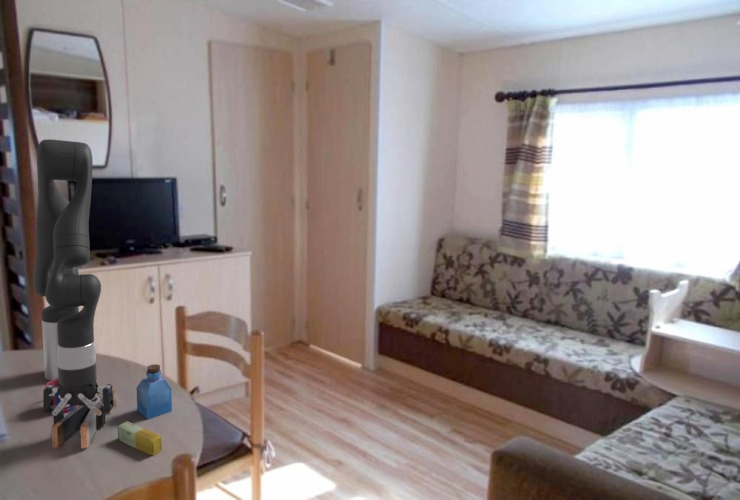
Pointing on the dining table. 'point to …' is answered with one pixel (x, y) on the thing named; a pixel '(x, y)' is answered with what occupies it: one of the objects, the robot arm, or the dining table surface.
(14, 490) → the dining table surface
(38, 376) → the dining table surface
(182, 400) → the dining table surface
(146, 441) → the medication box
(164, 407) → the perfume bottle
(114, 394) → the block
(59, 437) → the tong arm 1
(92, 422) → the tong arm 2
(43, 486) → the dining table surface
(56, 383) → the mug
